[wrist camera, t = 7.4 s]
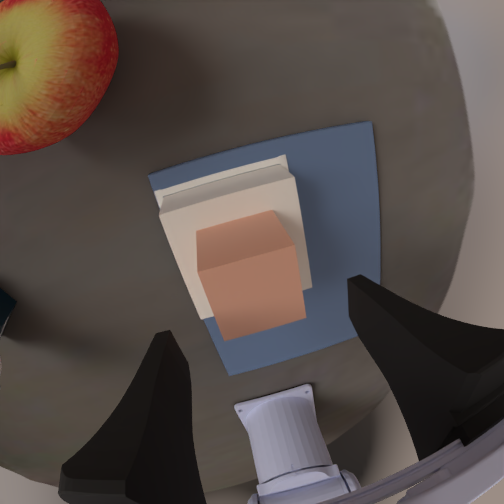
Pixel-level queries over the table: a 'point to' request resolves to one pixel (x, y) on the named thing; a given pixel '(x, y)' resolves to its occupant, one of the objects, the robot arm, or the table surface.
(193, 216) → the base block
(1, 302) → the watch
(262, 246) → the terracotta block
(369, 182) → the blueprint board
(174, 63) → the table surface
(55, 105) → the apple
